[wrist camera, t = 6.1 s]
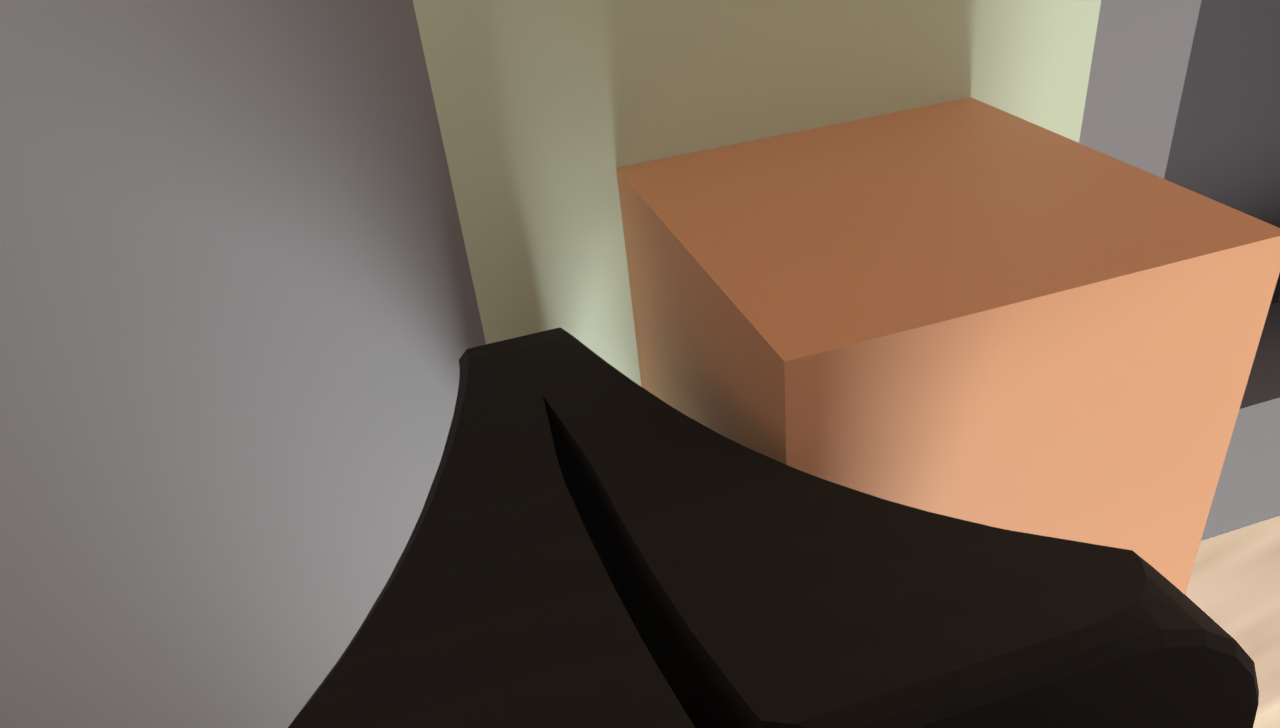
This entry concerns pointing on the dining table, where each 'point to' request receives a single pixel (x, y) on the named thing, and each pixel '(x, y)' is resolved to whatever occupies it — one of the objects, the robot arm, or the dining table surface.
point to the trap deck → (430, 271)
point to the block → (957, 320)
